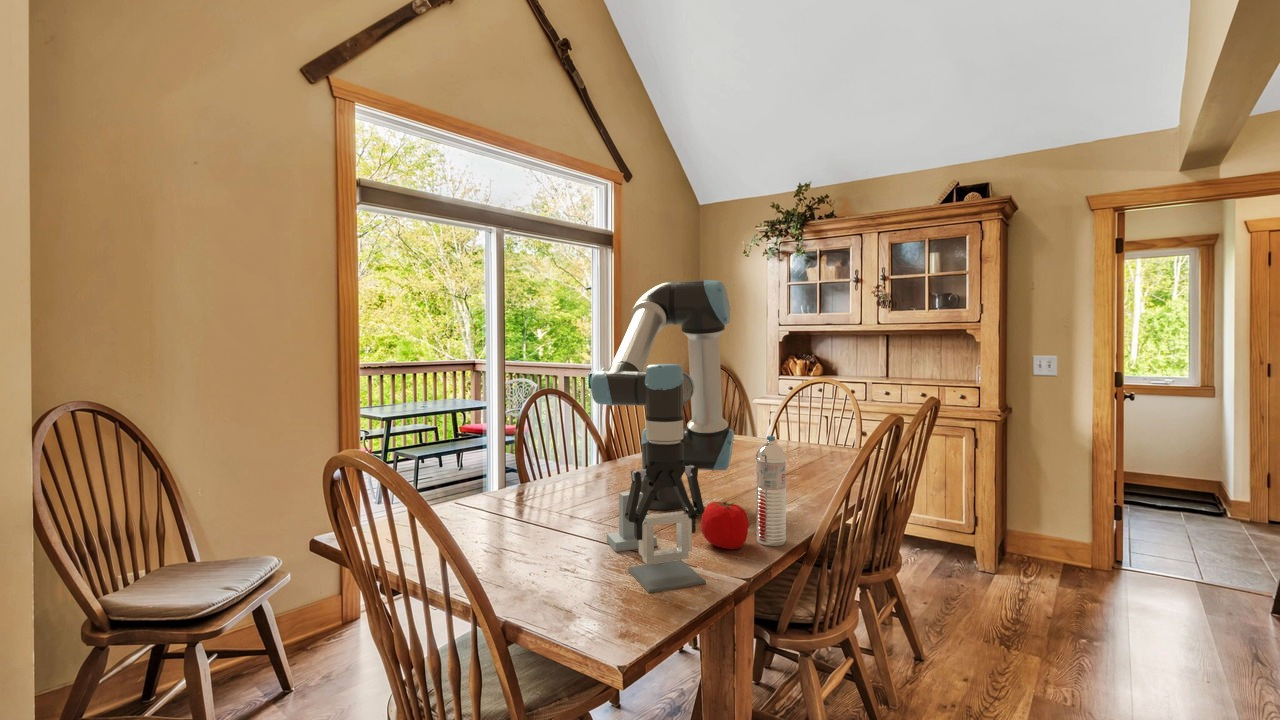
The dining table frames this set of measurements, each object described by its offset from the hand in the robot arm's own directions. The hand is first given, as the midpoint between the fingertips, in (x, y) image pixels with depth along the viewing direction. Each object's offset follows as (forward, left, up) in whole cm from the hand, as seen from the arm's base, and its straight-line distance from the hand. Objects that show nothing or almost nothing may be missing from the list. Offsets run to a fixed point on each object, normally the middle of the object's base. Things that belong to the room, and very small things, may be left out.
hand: (665, 552), depth 121 cm
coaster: (0, 0, -5) cm, 5 cm away
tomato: (-20, -12, -5) cm, 24 cm away
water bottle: (-31, -10, -5) cm, 33 cm away
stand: (0, -17, -5) cm, 18 cm away
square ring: (0, 0, -1) cm, 1 cm away
